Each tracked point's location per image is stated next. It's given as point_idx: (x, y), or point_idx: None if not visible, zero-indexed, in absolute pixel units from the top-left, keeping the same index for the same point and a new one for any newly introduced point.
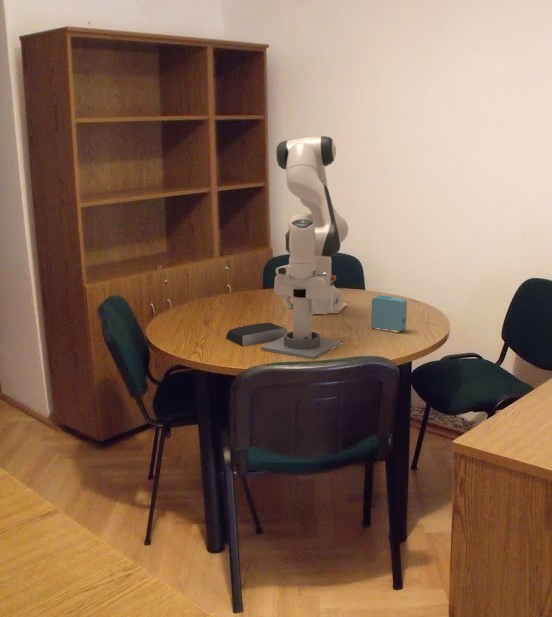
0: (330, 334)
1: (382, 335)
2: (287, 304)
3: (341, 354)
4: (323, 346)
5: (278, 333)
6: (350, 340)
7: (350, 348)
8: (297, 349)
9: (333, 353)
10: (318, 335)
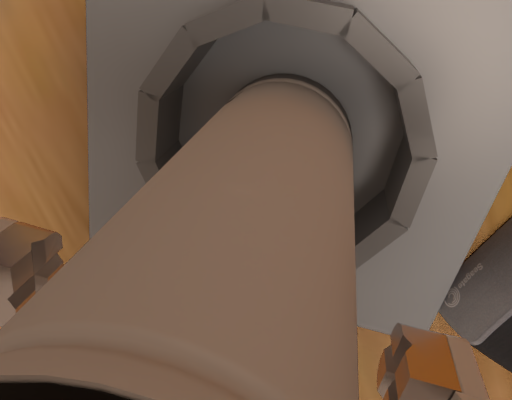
0: None
1: None
2: (479, 389)
3: (3, 54)
4: (133, 126)
5: (509, 269)
6: None
7: (24, 183)
8: None
9: (52, 57)
10: None
